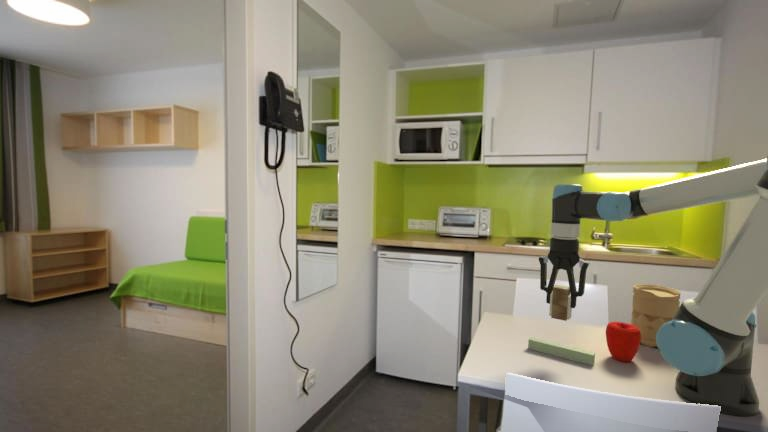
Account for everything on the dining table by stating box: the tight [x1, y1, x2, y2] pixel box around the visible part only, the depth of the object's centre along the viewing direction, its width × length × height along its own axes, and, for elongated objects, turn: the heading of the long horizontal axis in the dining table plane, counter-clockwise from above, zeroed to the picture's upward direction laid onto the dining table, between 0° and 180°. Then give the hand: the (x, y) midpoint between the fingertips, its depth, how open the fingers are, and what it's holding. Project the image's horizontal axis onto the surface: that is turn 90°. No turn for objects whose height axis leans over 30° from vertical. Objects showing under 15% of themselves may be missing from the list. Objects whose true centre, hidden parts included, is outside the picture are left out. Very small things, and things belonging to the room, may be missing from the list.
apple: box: [605, 321, 642, 363], centre depth 111 cm, size 9×9×11 cm
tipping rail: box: [527, 336, 596, 366], centre depth 112 cm, size 18×2×3 cm, turn 53°
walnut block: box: [550, 284, 571, 322], centre depth 109 cm, size 4×4×9 cm
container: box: [630, 283, 681, 348], centre depth 124 cm, size 13×13×18 cm
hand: (560, 316), depth 110 cm, fingers closed on walnut block, 4 cm apart
